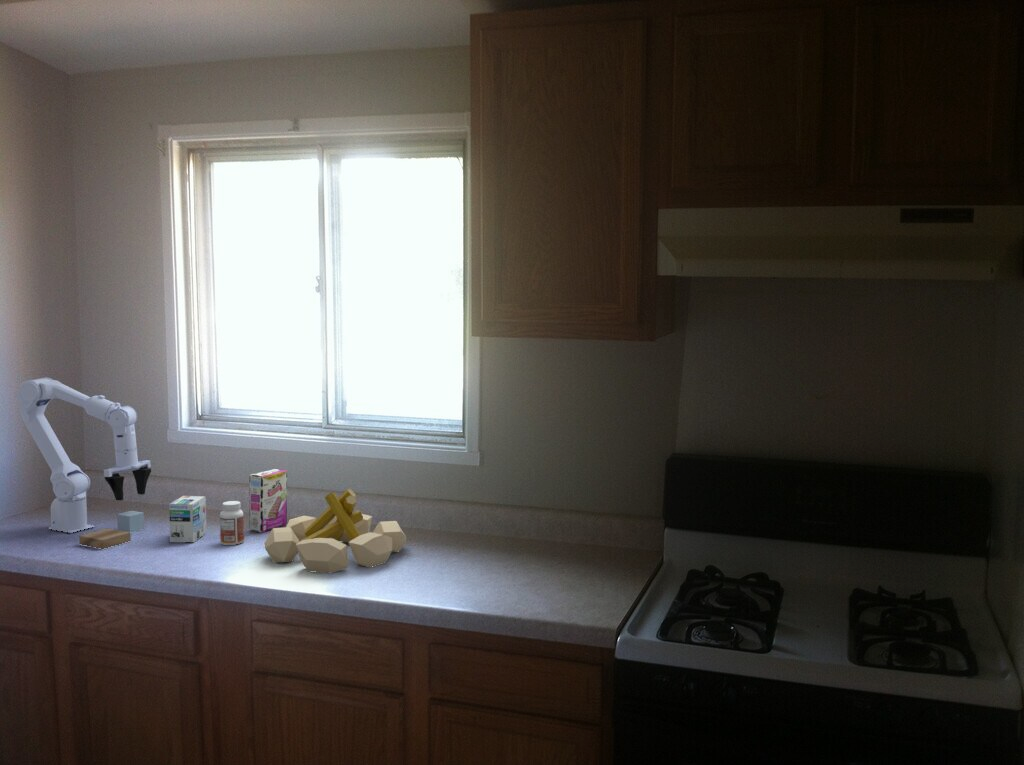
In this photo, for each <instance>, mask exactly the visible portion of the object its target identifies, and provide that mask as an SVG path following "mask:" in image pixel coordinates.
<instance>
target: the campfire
mask: <svg viewBox="0 0 1024 765" xmlns="http://www.w3.org/2000/svg"><path fill="white" fill-rule="evenodd" d="M324 499H325V501H326V502H327V505H328V508H326V509H325V510H324V511H323V512H322V513H321V515H319V516H318V517H317V518H316V517H313V516H308V515H302V516H298V517H294V518H291V519H289V520H288V521H287V525H285V526H286V527H278V528H273V529H272V530H270V532H269V534H268V536H267V537H266V540H265V541H264V549H265V551H266V553H267V554H268V555H269V557H270V559H271V560H272V562H273V563H275V562H280V563H291V562H293V561H294V559H295V558H296V556H297V554H298V557H299V561H300V562H301V564H302V565H303V567H305V569H306V571H307V572H309V571H316V572H315V573H320V572H334V573H336V572H339V571H342V570H344V569H347V568H349V566H350V565H349V555H348V546H347V544H348V545H349V548H350V551H351V553H352V555H353V558H354V561H355V563H356V565H357V566H360V565H362V566H361V567H364V566H366V567H365V568H369V567H372V566H375V565H378V564H380V565H382V564H381V563H383V564H385V563H384V562H386V561H388V559H389V557H390V556H391V554H392V553H391V552H398V551H400V552H401V550H402V549H403V547H404V545H405V542H406V541H407V539H408V538H407V536H406V535H405V533H404V531H403V530H402V527H401V526H400V525H399V523H398V522H397V520H389V521H387V520H386V521H384V520H383V521H379V522H378V523H377V525H376V527H375V528H374V529H373V531H372V532H371V531H370V530H371V525H372V519H373V516H372V515H368V514H364V513H362V512H361V511H360V510H359V509H356V510H354V509H355V506H356V504H357V499H356V493H355V492H354V491H353V490H352V489H351V488H347V489H346V490H345V491H344V492H343V493H341V495H339V497H337V495H336V492H334V491H332V492H330V493H328V494H327V495H326V496H325V497H324ZM339 541H344V542H339ZM346 542H348V543H347V544H345V543H346ZM398 553H399V552H398ZM292 560H293V561H292ZM290 561H291V562H290ZM386 563H387V562H386ZM378 566H379V565H378ZM375 567H376V566H375ZM372 568H373V567H372Z"/></svg>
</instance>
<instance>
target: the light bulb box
mask: <svg viewBox="0 0 1024 765" xmlns="http://www.w3.org/2000/svg"><path fill="white" fill-rule="evenodd" d="M206 501H207V498H206V496H199V495H197V496H196V495H182V496H180V497H179V498H177V499H175V500H173V501H172V502H171V503H169V504H168V506H169V508H168V510H169V543H185V542H194V541H195V542H196V541H198V540H199V539H201V538H202V537H203V536H205V535H206V534H207V504H206V503H207V502H206ZM205 533H206V534H205ZM204 534H205V535H204ZM201 536H202V537H201ZM200 537H201V538H200ZM197 539H198V540H197ZM195 542H194V543H195Z"/></svg>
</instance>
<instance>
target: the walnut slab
mask: <svg viewBox="0 0 1024 765" xmlns="http://www.w3.org/2000/svg"><path fill="white" fill-rule="evenodd" d="M78 540H79V541H78V545H79V544H82V545H87V546H91V547H96V548H101V549H104V548H107V549H109V548H108V547H111V546H114V547H116V546H115V545H118V546H120V545H119V544H121V545H123V544H122V543H125V542H128V541H131V533H130V532H125V531H120V530H117V529H114V528H113V529H112V528H103V529H99V530H95V531H92V532H89V533H84V534H80V535H78ZM131 542H132V541H131ZM128 543H129V542H128ZM125 544H126V543H125ZM91 547H90V548H91ZM96 548H95V549H96ZM111 548H112V547H111ZM101 549H100V550H101ZM104 550H105V549H104Z"/></svg>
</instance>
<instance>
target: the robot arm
mask: <svg viewBox="0 0 1024 765" xmlns="http://www.w3.org/2000/svg"><path fill="white" fill-rule="evenodd" d="M15 396H16V398H17V399H18V401H19V403H18V404H19V415H20V418H21V420H22V422H23V424H24V425H25V427H26V428H27V430H28V433H30V436H31V437H32V439H33V440H34V442H35V444H36V446H37V448H38V450H39V451H40V453H41V454H42V456H43V458H44V460H45V462H46V464H47V465H48V467H49V468H50V470H51V474H50V477H49V479H50V482H51V484H52V491H53V494H54V495H55V497H56V498H54V499H53V500H52V501H51V504H50V526H49V527H48V530H51V529H52V531H56V530H57V531H58V532H61V531H63V532H62V533H67V532H68V534H73V532H74V533H78V532H81V531H84V529H85V530H88V528H89V529H92V527H93V528H95V525H92V524H88V515H87V514H88V513H87V510H88V509H87V492H88V490H89V489H90V487H91V478H90V477H89V476H88V475H87V474H86V473H84V472H83V471H82V469H81V467H80V466H78V465H77V464H76V463H73V462H72V461H71V460H70V457H69V456H68V454H67V453H66V450H65V449H64V447H63V446H62V444H61V442H60V440H59V438H58V437H57V435H56V433H55V432H54V430H53V428H52V426H51V424H50V423H49V420H48V419H47V418H46V415H45V411H46V410H47V409H46V408H47V406H48V404H50V402H51V401H52V400H54V399H59V400H63V401H64V402H68V403H70V404H73V405H75V406H78V407H80V408H83V409H84V410H85V412H86V414H87V415H90V416H92V417H94V418H96V419H99V420H101V421H103V422H106V423H108V426H110V428H111V430H112V435H113V443H114V454H115V463H116V464H115V466H112V467H109V468H107V469H103V475H104V480H105V481H106V483H107V484H108V485H109V488H111V491H112V494H113V495H114V498H115V500H116V501H124V481H125V476H121V474H124V473H128V472H132V474H133V476H134V480H135V486H136V492H137V494H138V495H145V494H146V489H147V483H148V480H149V478H150V476H151V473H152V468H151V467H152V465H151V460H150V459H149V460H146V459H145V460H140V461H139V459H138V458H139V456H138V447H137V446H138V445H137V435H136V428H135V426H136V425H135V423H136V422H137V420H138V413H137V410H136V409H134V408H133V407H132V406H130V405H124V406H123V405H122V406H121V403H120V402H113V401H111V400H108V399H106V396H105V395H103V394H100V395H93V396H91V397H90V396H89V395H87V394H84V393H82V392H81V391H78V390H76V389H74V388H72V387H70V386H68V385H65V384H63V383H62V382H60V381H59V380H56V379H52V378H51V377H47V376H45V377H40V378H36V379H29V380H28V379H27V380H24V381H23V382H21V383H20V384H19V387H18V388H17V391H16V394H15ZM80 530H81V531H80ZM77 531H78V532H77Z"/></svg>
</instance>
